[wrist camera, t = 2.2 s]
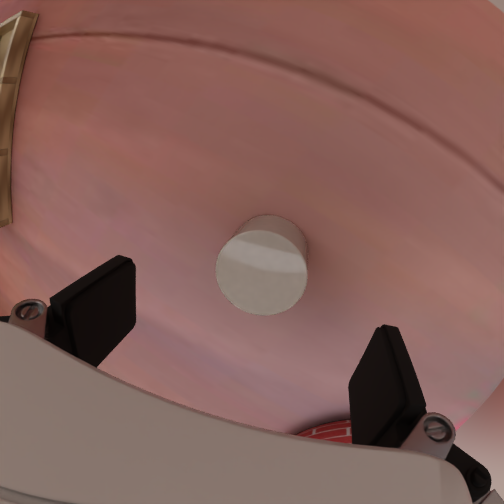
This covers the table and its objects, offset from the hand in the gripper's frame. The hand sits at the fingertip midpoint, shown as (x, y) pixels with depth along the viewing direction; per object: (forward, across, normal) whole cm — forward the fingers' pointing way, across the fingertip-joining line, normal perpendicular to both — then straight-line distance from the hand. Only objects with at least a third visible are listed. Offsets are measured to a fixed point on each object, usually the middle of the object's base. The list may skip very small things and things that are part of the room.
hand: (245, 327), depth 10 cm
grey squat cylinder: (+7, 0, 0) cm, 7 cm away
